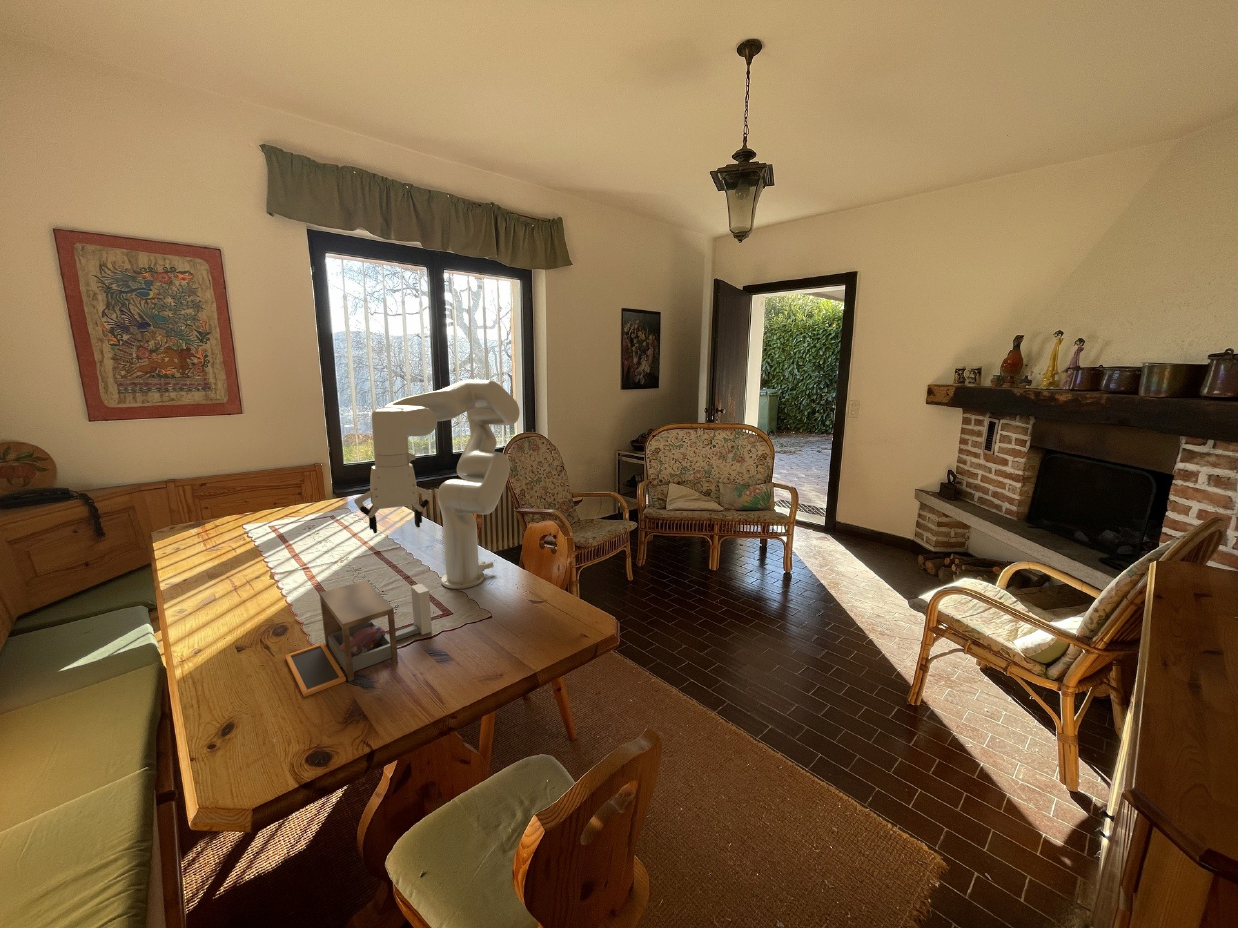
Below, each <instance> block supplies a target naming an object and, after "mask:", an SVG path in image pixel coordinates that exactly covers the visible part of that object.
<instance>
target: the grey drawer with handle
mask: <svg viewBox="0 0 1238 928" xmlns="http://www.w3.org/2000/svg"><path fill="white" fill-rule="evenodd" d="M410 593H411V601H412V602H411V603H412V611H413V612H412V615H413V625H411V626H409V627H405V628H402V629H399V630H397V631H396V630H395V632H396V642H398V640H402V639H404V638H407V637H410V636H413V635H416V634H419V633H420V634H421V635H427V634H428V633H431V632H433V629H432V627H433V626H432V615H431V614H432V613H431V611H432V610H431V601H430V589H428V588H427V587H426V586H425V585H424V584H422V583H418V584H414V585H411V587H410ZM374 625H377V626H379V627H381V626H380V624H379V623H378V622H377V621H376V619H374V620H371V621H368V622H365V623H362V624H359V625H356V626H353V627H350V628H349V636H350V637H351V636H353V635H354V634H356V633H357V632H358V631H359V630H361V629H364V628H370V627H373V626H374ZM378 642H379V643H380V644H381V645H382V646H380V647H377V648H375V649H372V650H371V649H370V650H369V651H366V652H364V653H360V654H359V655H357V656H352V664H353V673H355V672H357V671H359V670H362V669H364V668H367V667H368V668H369V667H370V666H373V665H377V664H378V663H381V662H383V661H385V660H389V659H392V658H391V647H390V636H389V633H388V634H387V632H385V633H384V634H383V635H382V639H380V640H379V641H378ZM328 643H329V646H328V647H329V649H330V651H331V652H332V654H333V656H335V658H336V660H337V661H338V663H339V665H340V666H341V667H342V669H343V671H344V672H345V674H346V675H347V669H346V660H345V653H344V651H342V650H341V649H340V648H339V647H340V646H341V645H342V643H343V633H342V630H341V631H338V632H335V633H331V634H328Z"/></svg>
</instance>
